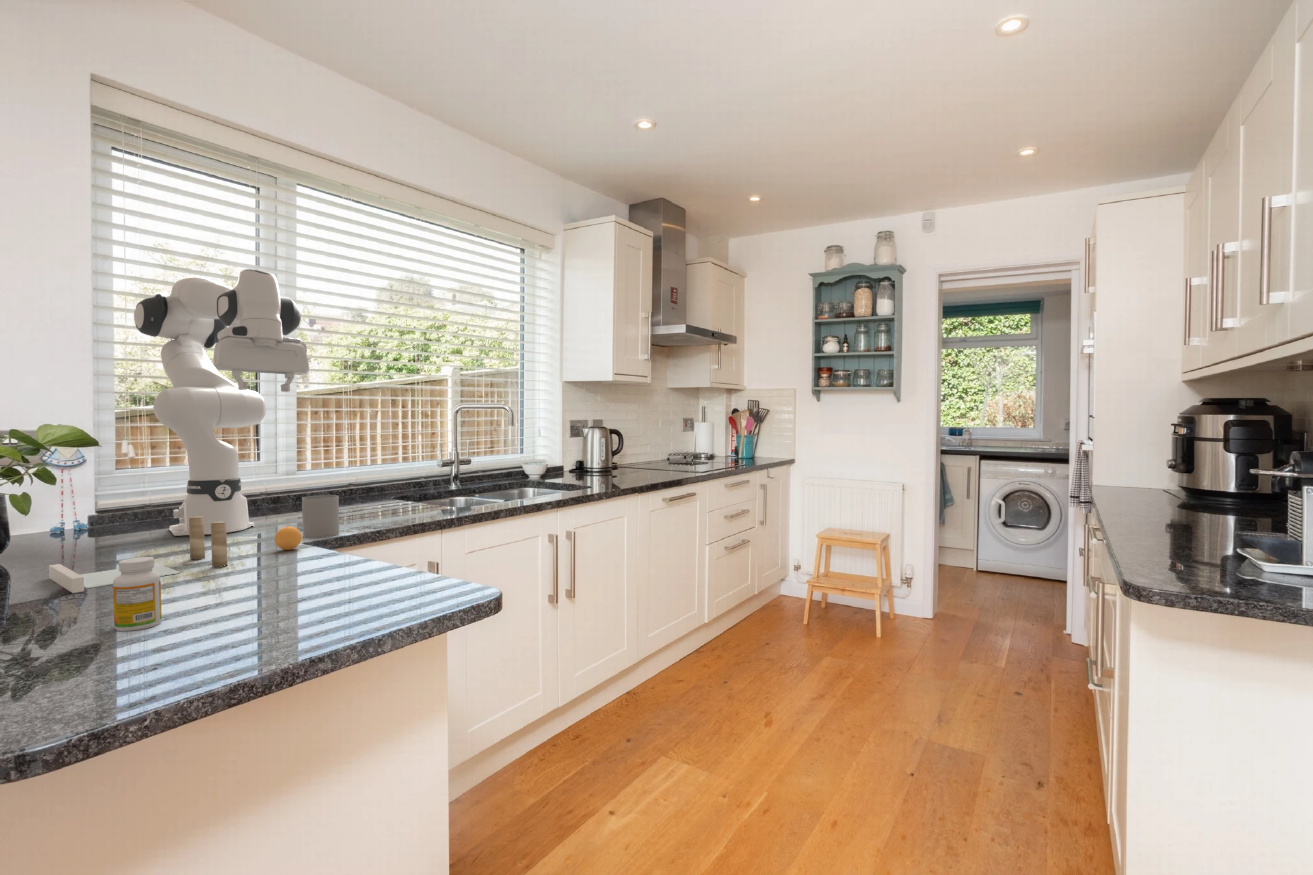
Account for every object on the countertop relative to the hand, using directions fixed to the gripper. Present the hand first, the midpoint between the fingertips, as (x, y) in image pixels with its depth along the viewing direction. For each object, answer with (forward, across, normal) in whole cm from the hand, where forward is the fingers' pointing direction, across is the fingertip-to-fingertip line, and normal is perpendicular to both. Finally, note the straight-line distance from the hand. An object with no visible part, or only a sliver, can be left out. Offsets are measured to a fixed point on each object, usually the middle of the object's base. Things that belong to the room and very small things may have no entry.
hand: (264, 390), depth 157 cm
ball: (+36, 0, +10) cm, 37 cm away
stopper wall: (+39, +39, +10) cm, 56 cm away
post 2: (+40, +16, +16) cm, 46 cm away
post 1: (+38, +17, +4) cm, 42 cm away
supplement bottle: (+44, +38, +51) cm, 77 cm away
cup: (+37, -13, -5) cm, 40 cm away
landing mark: (+39, +30, +10) cm, 51 cm away
